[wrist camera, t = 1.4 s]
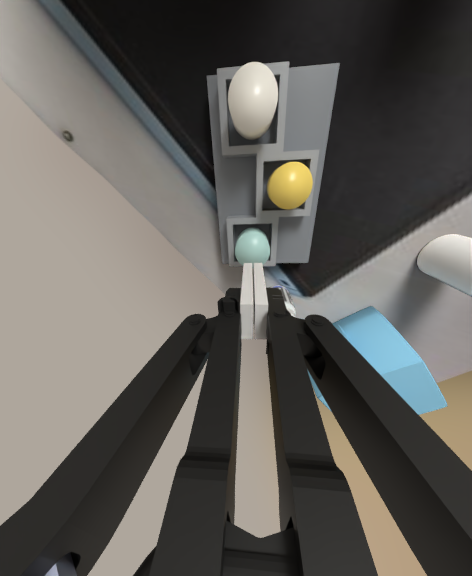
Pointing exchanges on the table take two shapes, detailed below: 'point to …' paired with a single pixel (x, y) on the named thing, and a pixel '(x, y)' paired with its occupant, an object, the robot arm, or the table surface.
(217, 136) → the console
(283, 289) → the pill bottle
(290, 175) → the button mustard
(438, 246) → the spray bottle
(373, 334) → the container
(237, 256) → the button teal
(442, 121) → the table surface
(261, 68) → the button ivory
